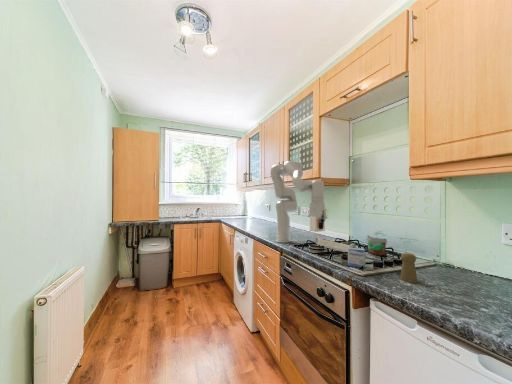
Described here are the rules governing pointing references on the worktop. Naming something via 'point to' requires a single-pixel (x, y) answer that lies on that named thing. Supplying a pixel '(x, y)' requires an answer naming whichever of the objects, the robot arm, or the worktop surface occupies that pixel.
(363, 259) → the medicine box
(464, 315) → the worktop surface
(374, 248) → the food container
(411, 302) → the worktop surface
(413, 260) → the cork
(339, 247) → the price rail
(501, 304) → the worktop surface
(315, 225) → the cream carton
